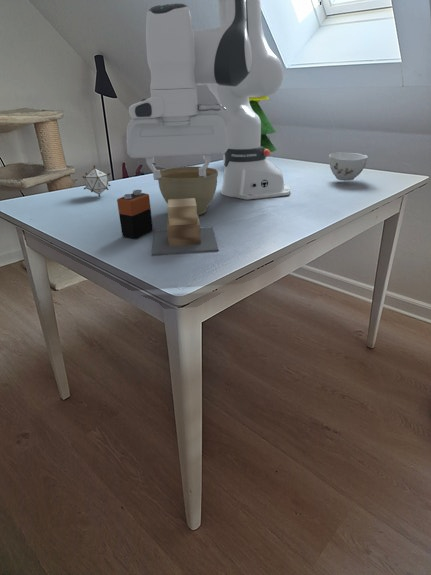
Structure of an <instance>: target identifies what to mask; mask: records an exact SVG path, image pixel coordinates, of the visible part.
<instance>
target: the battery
mask: <svg viewBox="0 0 431 575" xmlns="http://www.w3.org/2000/svg"><path fill="white" fill-rule="evenodd" d="M116 202H117V209H118V217H119V222H120V223H119V224H120V230H121V235H122V237H123V238H128V239H133V240H136V239H139V238H141V237H144V236H145V235H147V234H148V233H151V232H152V231H153V229H154V228H153V218H152V210H151V209H152V208H151V201H150V194H148V193H145V192H143V190H142V189H134V190H133V191H132V193H126V194H124V195H123V196H120V197H118V198H117V200H116Z"/></svg>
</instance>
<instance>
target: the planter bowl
mask: <svg viewBox="0 0 431 575" xmlns="http://www.w3.org/2000/svg"><path fill="white" fill-rule="evenodd" d="M201 167H202V166H178V167H177V166H176V167H169V168H164V169H160V172H161V174H160V175H161V180H157V183H158V187H159V191H160V193H161V195H162V198H163V199H164V201H165V202H166V204H167V205H168V200H169V199H187V198H195V201H196V207H197V215H198V216H200V215H203V214H205V213H206V212H207V210H208V206H209V205H210V204H211V201H212V200H213V198H214V196H215V194H216V190H217V185H218V177H219V171H218V170H217V169H215V168H213V167H209V166H208V167H207V169H206V177H201V178H199V168H201Z"/></svg>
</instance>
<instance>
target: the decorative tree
mask: <svg viewBox="0 0 431 575" xmlns="http://www.w3.org/2000/svg"><path fill="white" fill-rule="evenodd" d="M248 98H249V103H250V106H251V108H252V110H253V111H254V112H255V113H256V114H257V115H258V116H259V118H260V120H261V143H260V146H262V147H263V148H265V149H268V150H270V152H271V153H272V152H276V151H277V148H276V147H275V146H274V144H273V143H272V141H271V140H270V138H269V136H268V135H271V134H274V133H276V129H275V128H274V126H273V125H272V124H271V121H270V120H269V118H268V117H267V115H266V113H265V112H264V110H263V109H262V106H261V105H260V104H259V102H261V101H263V100H264V101H266V100H270V98H269V97H268V95H267V96H264V97H248Z"/></svg>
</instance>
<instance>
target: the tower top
mask: <svg viewBox="0 0 431 575" xmlns="http://www.w3.org/2000/svg"><path fill="white" fill-rule="evenodd" d="M167 215H168V216H169V226H172V225H188V224H197V207H196V201H195V198H187V199H169V200H168V204H167Z"/></svg>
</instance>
